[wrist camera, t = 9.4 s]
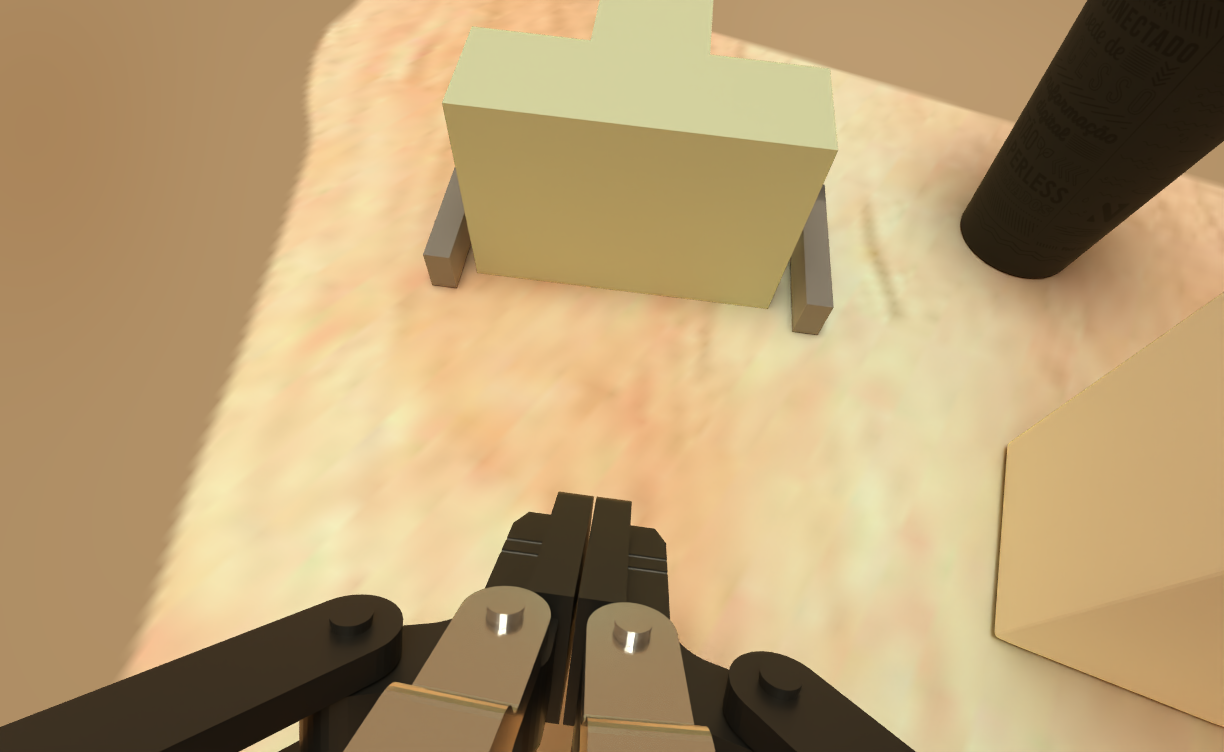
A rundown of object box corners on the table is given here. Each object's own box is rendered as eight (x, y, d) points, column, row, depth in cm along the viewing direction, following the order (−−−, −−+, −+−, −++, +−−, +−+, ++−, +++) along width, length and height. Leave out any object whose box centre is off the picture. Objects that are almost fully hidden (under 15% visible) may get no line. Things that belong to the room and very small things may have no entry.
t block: (765, 144, 31) (820, -28, 24) (767, 308, 26) (838, 150, 19) (522, 115, 31) (507, -65, 24) (477, 272, 26) (442, 102, 19)
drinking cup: (902, 247, 28) (1435, -560, 11) (961, 156, 31) (1440, -571, 14) (1075, 336, 26) (2073, -480, 9) (1119, 228, 29) (1901, -516, 12)
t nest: (806, 128, 32) (818, 96, 30) (817, 334, 25) (833, 307, 24) (498, 90, 32) (494, 56, 30) (432, 284, 26) (423, 254, 24)
